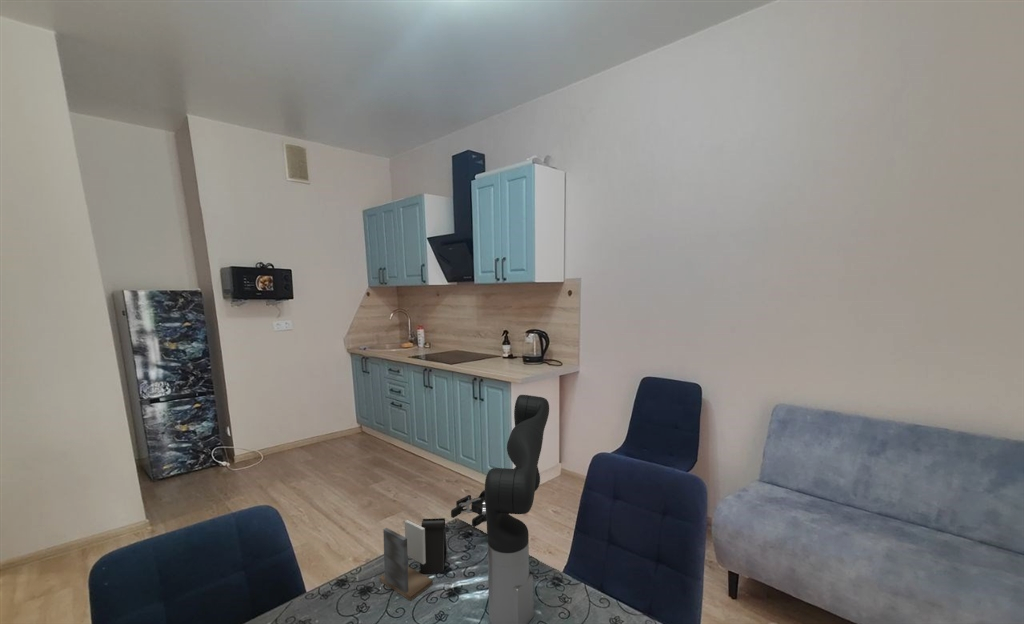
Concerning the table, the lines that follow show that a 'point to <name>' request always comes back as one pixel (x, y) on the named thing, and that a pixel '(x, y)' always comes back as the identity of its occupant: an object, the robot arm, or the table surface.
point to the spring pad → (415, 541)
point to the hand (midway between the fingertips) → (462, 519)
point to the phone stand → (434, 546)
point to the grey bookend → (401, 568)
